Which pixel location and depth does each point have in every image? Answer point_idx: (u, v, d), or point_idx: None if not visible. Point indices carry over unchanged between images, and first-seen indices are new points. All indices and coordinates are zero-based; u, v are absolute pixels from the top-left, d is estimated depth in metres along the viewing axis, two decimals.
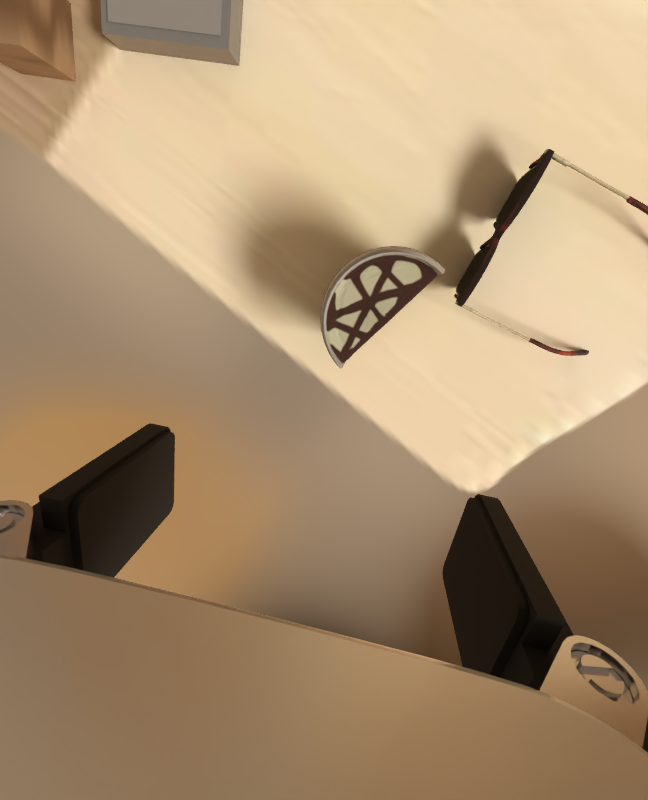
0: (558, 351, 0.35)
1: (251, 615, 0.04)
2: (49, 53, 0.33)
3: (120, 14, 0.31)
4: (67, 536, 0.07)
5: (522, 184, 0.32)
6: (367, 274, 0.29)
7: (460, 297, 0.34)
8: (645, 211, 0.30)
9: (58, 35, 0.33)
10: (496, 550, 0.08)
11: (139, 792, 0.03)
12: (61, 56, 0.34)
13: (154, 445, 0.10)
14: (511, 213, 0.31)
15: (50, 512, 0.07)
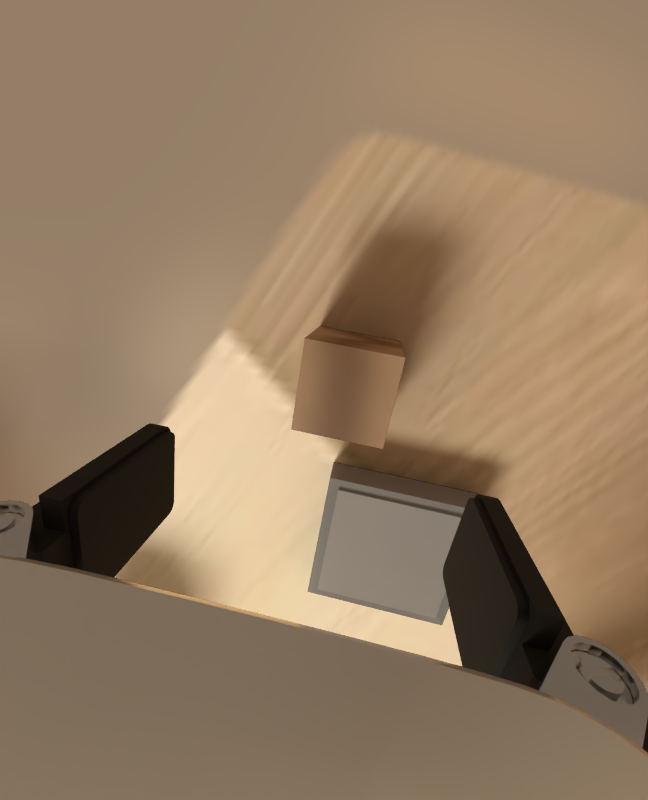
0: None
1: (251, 615, 0.04)
2: None
3: (344, 501, 0.28)
4: (67, 536, 0.07)
5: None
6: None
7: None
8: None
9: None
10: (496, 550, 0.08)
11: (139, 792, 0.03)
12: None
13: (154, 445, 0.10)
14: None
15: (50, 512, 0.07)
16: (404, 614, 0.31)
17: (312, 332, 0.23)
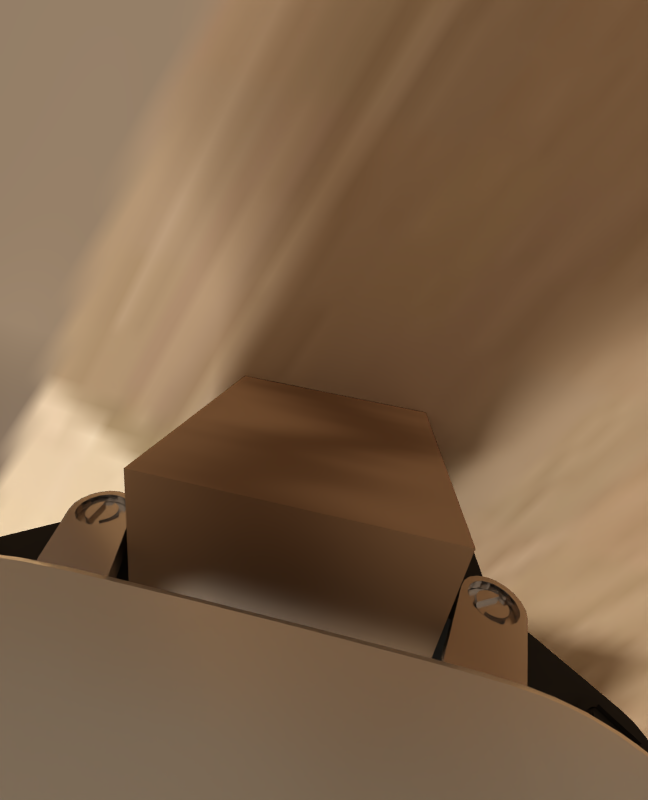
0: None
1: (251, 615, 0.04)
2: None
3: None
4: None
5: None
6: None
7: None
8: None
9: None
10: None
11: (139, 792, 0.03)
12: None
13: None
14: None
15: None
16: None
17: (194, 415, 0.08)
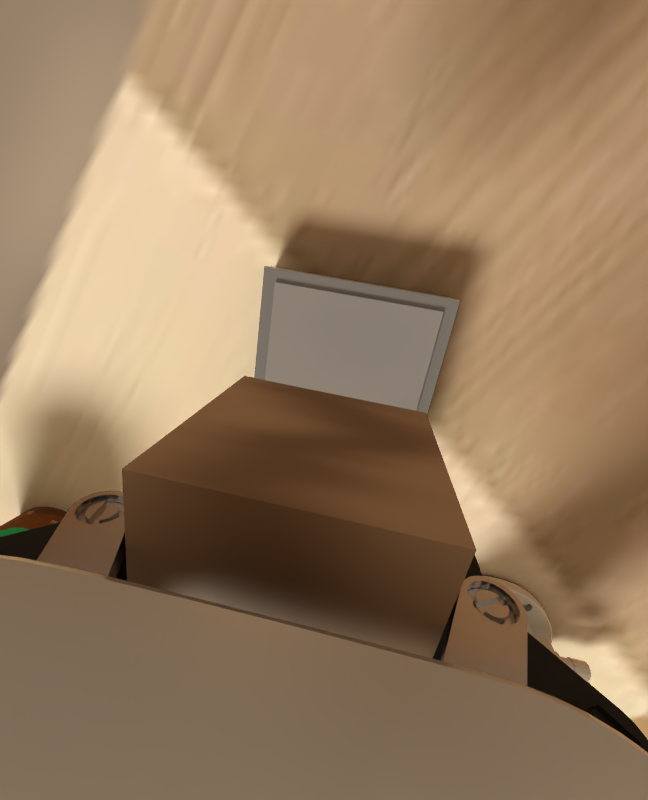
0: None
1: (251, 615, 0.04)
2: None
3: (284, 300, 0.22)
4: None
5: None
6: None
7: None
8: None
9: None
10: None
11: (139, 792, 0.03)
12: None
13: None
14: None
15: None
16: None
17: (193, 415, 0.08)
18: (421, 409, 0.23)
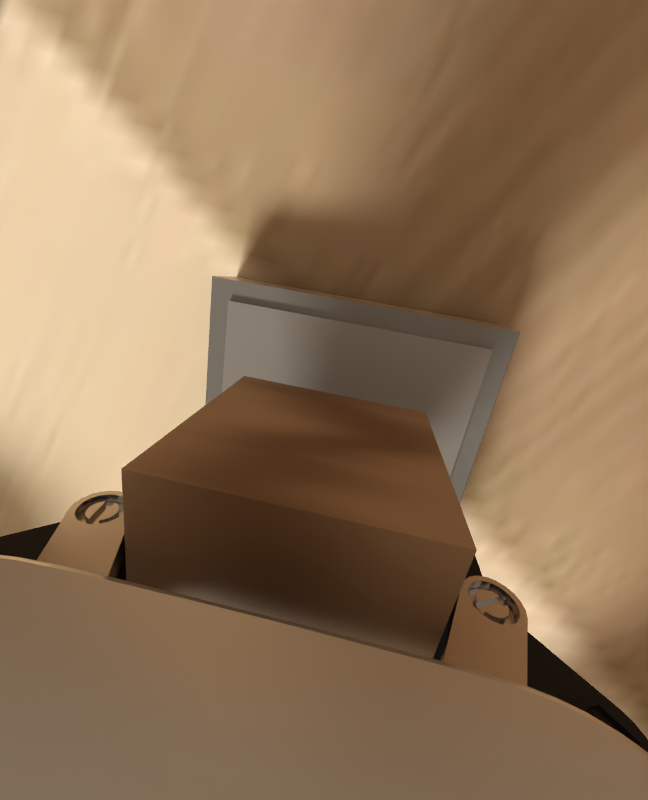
0: None
1: (251, 615, 0.04)
2: None
3: (244, 328, 0.15)
4: None
5: None
6: None
7: None
8: None
9: None
10: None
11: (139, 792, 0.03)
12: None
13: None
14: None
15: None
16: None
17: (193, 415, 0.08)
18: None
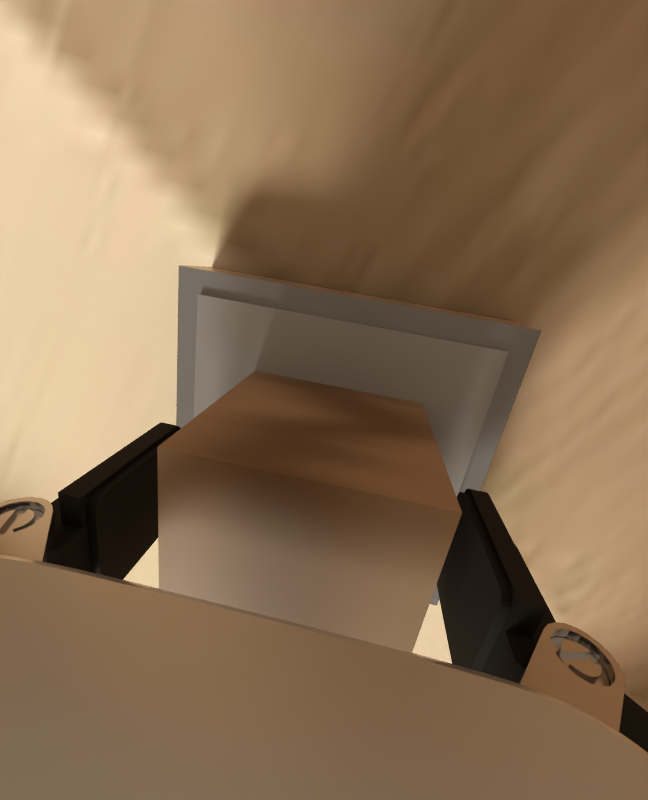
0: None
1: (251, 615, 0.04)
2: None
3: (217, 327, 0.12)
4: (85, 532, 0.08)
5: None
6: None
7: None
8: None
9: None
10: (483, 541, 0.08)
11: (139, 792, 0.03)
12: None
13: None
14: None
15: (69, 509, 0.07)
16: None
17: (212, 404, 0.09)
18: None
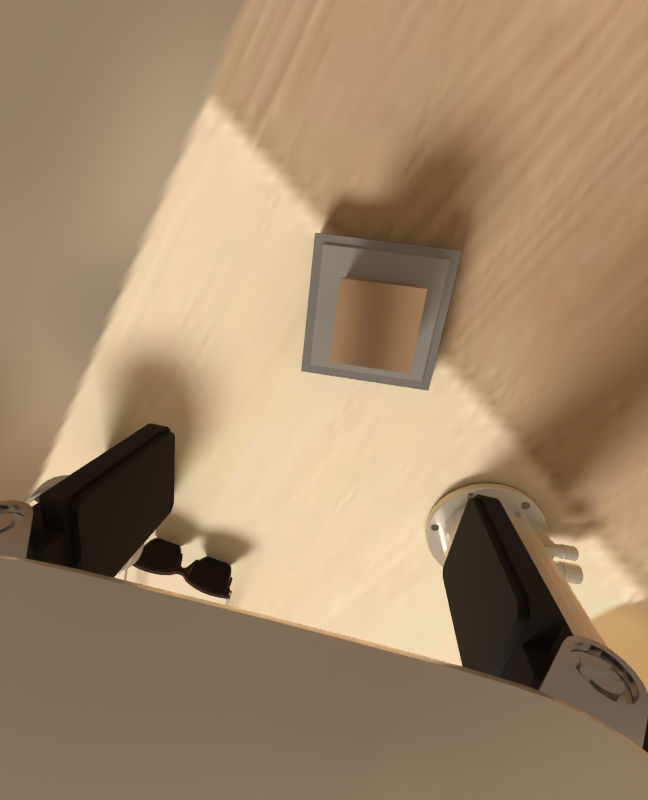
0: None
1: (251, 615, 0.04)
2: None
3: (330, 258, 0.30)
4: (67, 536, 0.07)
5: (220, 575, 0.45)
6: None
7: None
8: None
9: None
10: (496, 550, 0.08)
11: (139, 792, 0.03)
12: None
13: (154, 445, 0.10)
14: (190, 582, 0.43)
15: (50, 512, 0.07)
16: (393, 383, 0.33)
17: (343, 277, 0.27)
18: (435, 338, 0.31)
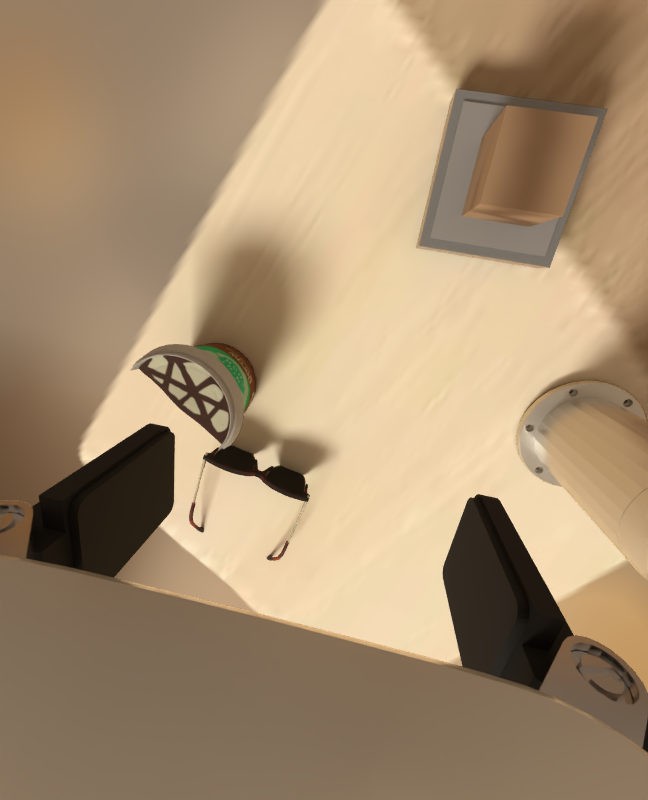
0: (190, 520, 0.48)
1: (251, 615, 0.04)
2: (480, 212, 0.29)
3: (467, 118, 0.29)
4: (67, 536, 0.07)
5: (295, 481, 0.44)
6: (215, 390, 0.34)
7: (210, 456, 0.42)
8: (282, 550, 0.47)
9: (499, 218, 0.30)
10: (496, 550, 0.08)
11: (139, 792, 0.03)
12: (480, 215, 0.30)
13: (154, 445, 0.10)
14: (269, 482, 0.42)
15: (50, 512, 0.07)
16: (513, 259, 0.32)
17: (495, 120, 0.26)
18: None
